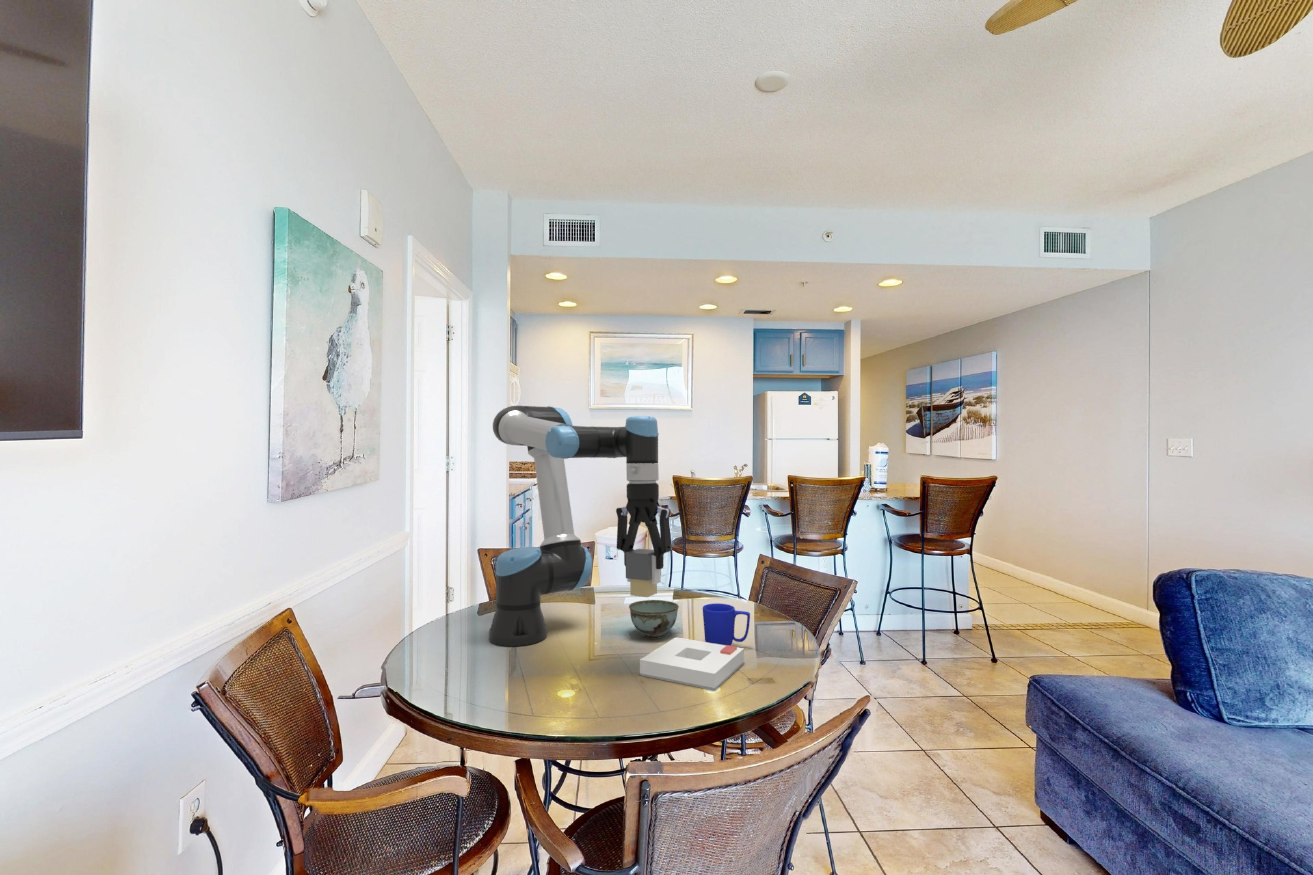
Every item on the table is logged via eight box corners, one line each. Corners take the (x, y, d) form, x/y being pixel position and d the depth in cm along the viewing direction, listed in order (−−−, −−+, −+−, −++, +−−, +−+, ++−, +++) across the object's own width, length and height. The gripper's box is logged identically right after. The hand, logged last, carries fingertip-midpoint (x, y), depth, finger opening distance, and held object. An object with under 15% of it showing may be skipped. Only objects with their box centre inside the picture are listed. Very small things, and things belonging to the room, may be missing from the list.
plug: (625, 595, 139) (625, 552, 139) (639, 590, 144) (638, 548, 144) (648, 598, 136) (647, 553, 136) (661, 592, 141) (660, 550, 141)
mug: (749, 654, 148) (749, 613, 149) (700, 650, 151) (700, 610, 151) (750, 643, 156) (750, 604, 157) (704, 640, 159) (704, 602, 159)
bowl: (669, 645, 155) (669, 614, 155) (621, 639, 159) (621, 609, 160) (684, 630, 168) (684, 601, 168) (640, 625, 172) (640, 597, 172)
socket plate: (639, 675, 135) (640, 656, 135) (675, 651, 150) (675, 634, 150) (714, 690, 126) (714, 670, 126) (744, 663, 142) (743, 645, 142)
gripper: (599, 482, 142) (601, 581, 142) (670, 483, 133) (672, 588, 132) (617, 481, 149) (618, 575, 148) (686, 481, 140) (687, 582, 139)
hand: (643, 581), depth 140 cm, fingers closed on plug, 6 cm apart
